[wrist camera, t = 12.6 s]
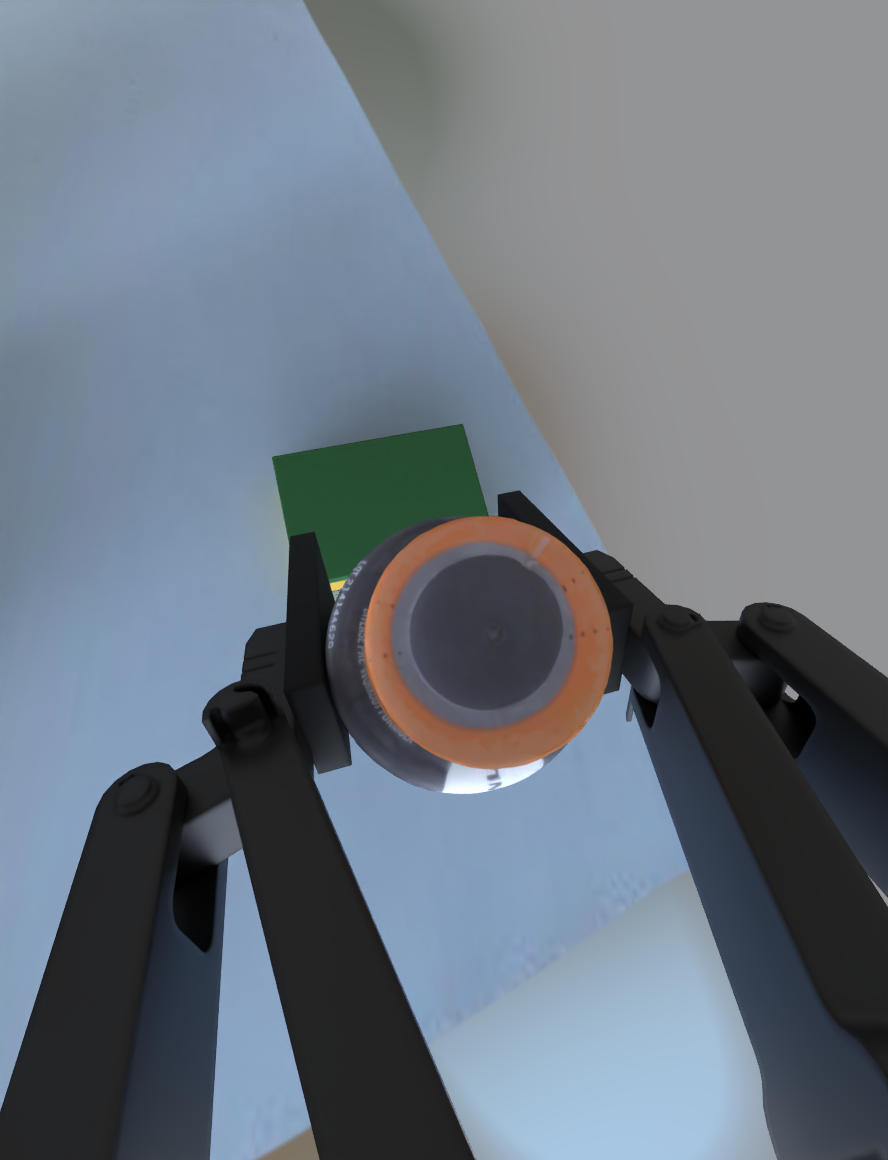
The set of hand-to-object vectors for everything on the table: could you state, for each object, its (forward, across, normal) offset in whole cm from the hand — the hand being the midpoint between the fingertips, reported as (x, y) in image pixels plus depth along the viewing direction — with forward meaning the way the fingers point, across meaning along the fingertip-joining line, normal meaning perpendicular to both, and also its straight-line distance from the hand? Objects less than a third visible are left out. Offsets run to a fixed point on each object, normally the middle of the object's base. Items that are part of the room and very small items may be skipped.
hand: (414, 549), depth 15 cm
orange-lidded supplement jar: (0, 0, -5) cm, 5 cm away
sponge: (+13, 0, -5) cm, 14 cm away
